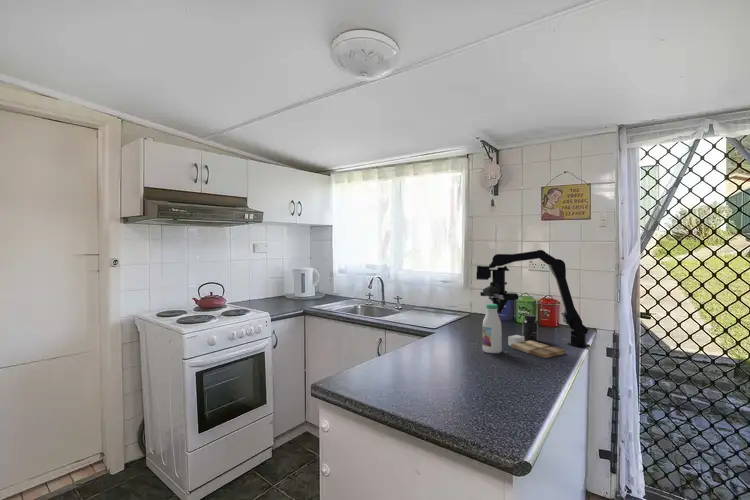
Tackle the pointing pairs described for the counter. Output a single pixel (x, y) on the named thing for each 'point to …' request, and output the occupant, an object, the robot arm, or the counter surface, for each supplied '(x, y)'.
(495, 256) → the robot arm
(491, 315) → the milk bottle
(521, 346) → the plank
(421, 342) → the counter surface
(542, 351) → the floorboard
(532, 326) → the supplement bottle
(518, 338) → the block
